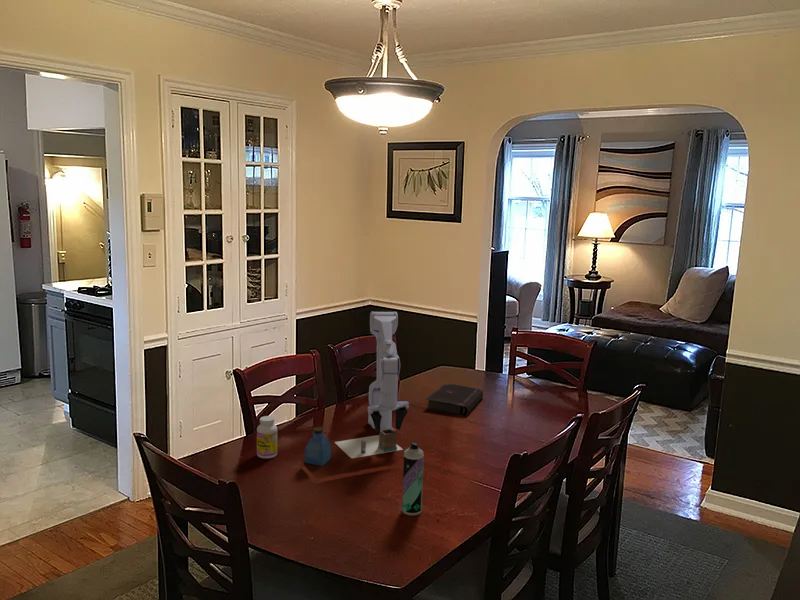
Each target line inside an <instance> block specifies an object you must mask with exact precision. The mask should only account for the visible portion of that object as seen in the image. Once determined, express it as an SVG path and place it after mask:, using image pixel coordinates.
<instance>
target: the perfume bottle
mask: <svg viewBox="0 0 800 600" xmlns="http://www.w3.org/2000/svg"><path fill="white" fill-rule="evenodd" d="M312 429H313V431H312V436H313V437H311V438H310V439H309V440H308V441H307V444H306V445H305V447H304V463H307V464H310V465H311V464H312V465H316V466H324V465H326V463H327V462H328V461H330V460H331V458H332V456H331V455H332V444H331V442H330V440H329V438H328V437H327V436H325V435H324V427H322V426H316V427H313V428H312Z"/></svg>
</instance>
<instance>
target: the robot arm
mask: <svg viewBox="0 0 800 600" xmlns="http://www.w3.org/2000/svg"><path fill="white" fill-rule="evenodd" d="M369 314H370V315H369V332H370V334H371V335H373V336H374V337H375V340H376V379H375V380H374V381H373V382H372V383H370V385H369V386H368V387H369V388H368V405H369V406H367V413H368V419H367V420H368V421H367V423H368V425H370V426H371V428H372V429H374V430H375V432H376V433H377V434H379V433H380V430H384V429H392V430H394V431H395V432H396V430H397V431H400V430H401V428H402V425H403V421H404V419H405V417H406V416H407V414H408V409H410V408H409V407H410V402H409V401H407V400H405V401H404V400H403V401H401V400H400V401H398V393H399V392H398V391H399V390H398V388H399V383H398V382H399V375H400V371H401V360H400V357H399V355H398V351H397V345H396V343H395V342H394V341H393V335H394V334H395V333H396V331H397V330H398V329H397V328H398V325H399V315H398V312H397V311H372V310H371V312H370V313H369ZM393 411H394V412H395V428H393V426H392V422H393V421H392V418H393V416H392V415H393Z"/></svg>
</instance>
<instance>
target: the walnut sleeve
mask: <svg viewBox="0 0 800 600" xmlns="http://www.w3.org/2000/svg"><path fill="white" fill-rule="evenodd" d="M378 435H379V444H378V447H379V448H380V449H381V450H382V451H384V452H387V451H392V452H394V451H393V450H397V447H396V444H397V439H398V438H397V432H396V431H395V430H394V429H393V428H390V429H384V430H380V433H378ZM387 453H388V452H387Z"/></svg>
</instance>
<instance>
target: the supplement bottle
mask: <svg viewBox="0 0 800 600" xmlns="http://www.w3.org/2000/svg"><path fill="white" fill-rule="evenodd" d="M259 423H260V424H259V425H258V426H257V428H256V455H257V457H258V458H261V459H272V458H275V457H276V456H277V455H278V427H277V425H276V424H275V417H273V416H271V415H266V416H265V415H264V416H261V417H260V418H259Z"/></svg>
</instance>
